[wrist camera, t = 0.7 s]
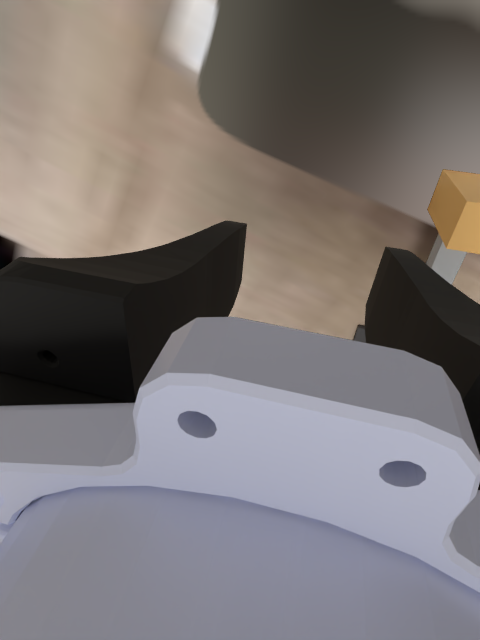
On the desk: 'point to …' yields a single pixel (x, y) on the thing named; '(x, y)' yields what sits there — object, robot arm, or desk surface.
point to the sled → (454, 221)
